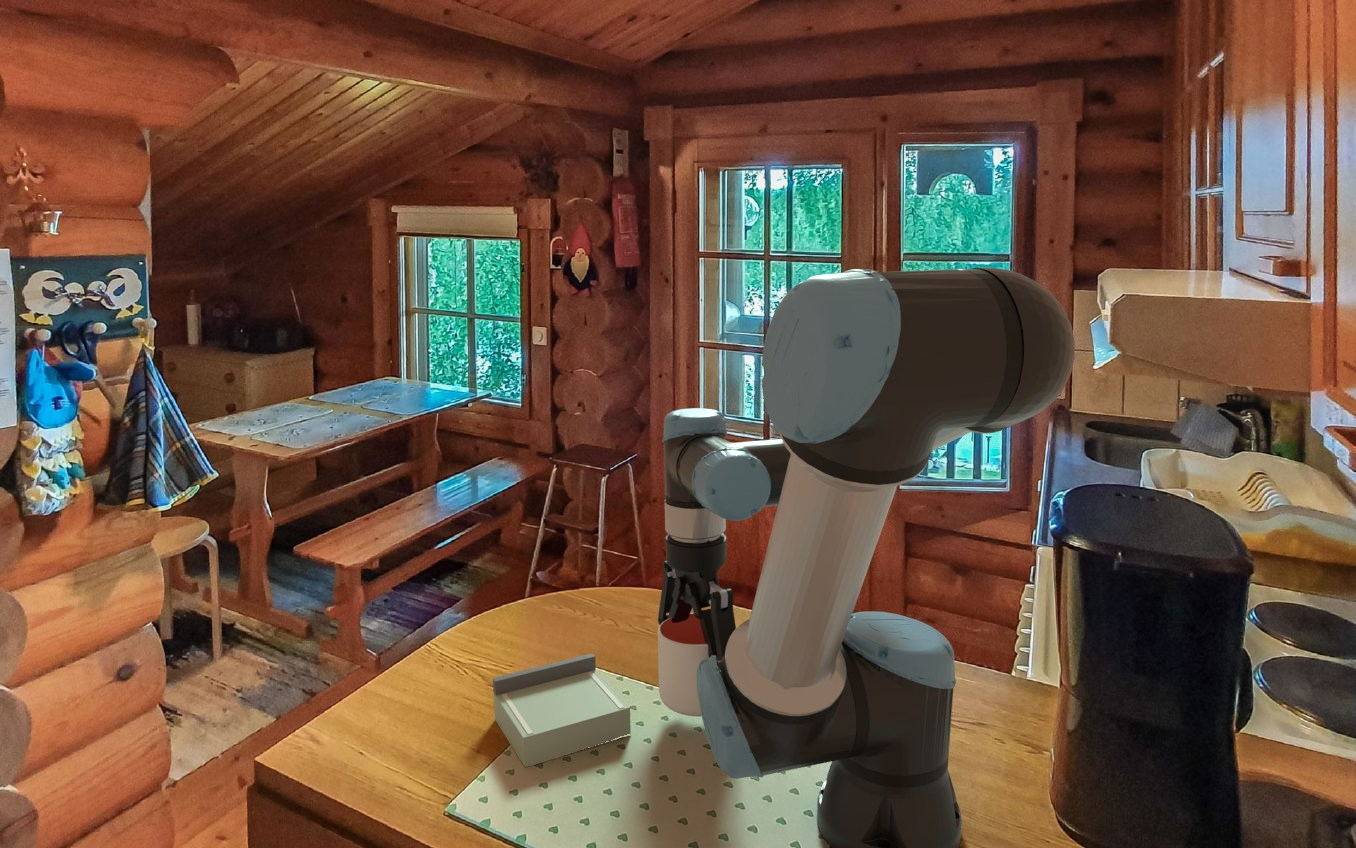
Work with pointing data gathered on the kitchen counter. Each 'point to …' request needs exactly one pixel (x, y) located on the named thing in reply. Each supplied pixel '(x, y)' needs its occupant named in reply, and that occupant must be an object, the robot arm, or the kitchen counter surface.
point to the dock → (558, 709)
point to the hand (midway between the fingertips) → (698, 698)
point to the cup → (680, 664)
